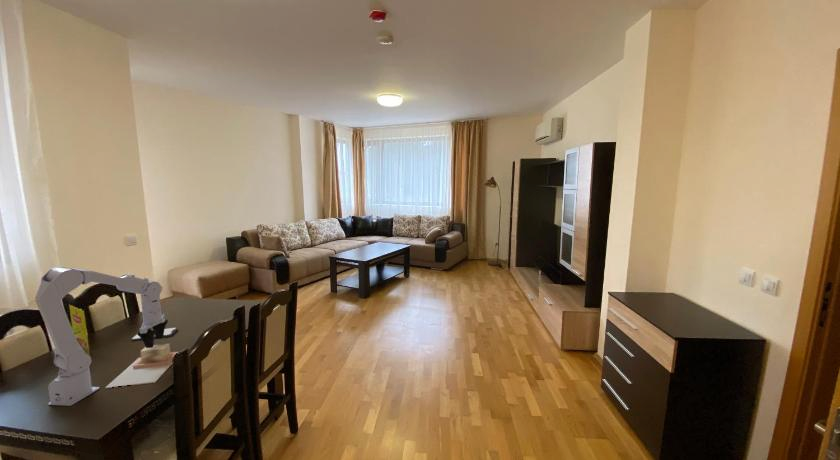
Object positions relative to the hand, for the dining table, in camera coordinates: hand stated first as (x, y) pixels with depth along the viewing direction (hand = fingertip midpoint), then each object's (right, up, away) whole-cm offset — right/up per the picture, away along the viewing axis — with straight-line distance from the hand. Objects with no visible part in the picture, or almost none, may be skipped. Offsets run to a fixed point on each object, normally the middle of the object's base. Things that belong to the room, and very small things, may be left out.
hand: (154, 342), depth 132 cm
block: (0, -8, +1) cm, 8 cm away
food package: (-37, -7, +8) cm, 39 cm away
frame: (0, -8, +1) cm, 8 cm away
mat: (0, -9, -4) cm, 10 cm away
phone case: (-20, -6, +25) cm, 32 cm away
